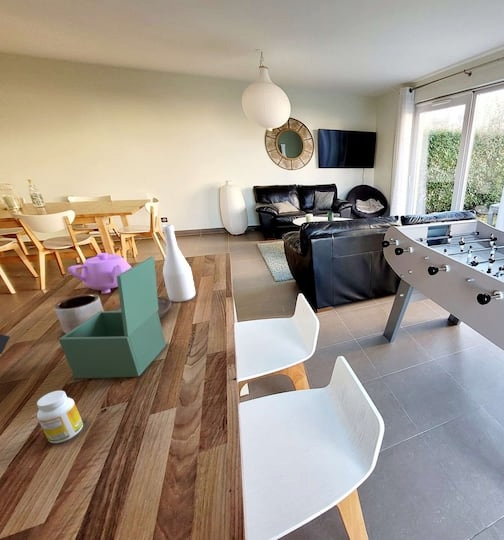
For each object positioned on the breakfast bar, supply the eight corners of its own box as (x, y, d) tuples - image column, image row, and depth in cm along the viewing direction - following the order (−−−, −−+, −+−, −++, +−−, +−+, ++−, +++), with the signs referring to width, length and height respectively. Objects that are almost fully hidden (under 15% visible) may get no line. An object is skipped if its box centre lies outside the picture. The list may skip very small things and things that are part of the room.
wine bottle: (184, 304, 112) (168, 229, 101) (163, 301, 114) (145, 227, 102) (201, 293, 121) (188, 223, 110) (181, 291, 122) (166, 221, 111)
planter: (54, 332, 92) (43, 306, 88) (91, 315, 102) (83, 291, 98) (80, 338, 90) (70, 312, 86) (115, 320, 100) (107, 296, 96)
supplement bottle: (56, 448, 57) (38, 413, 54) (43, 437, 59) (25, 402, 56) (89, 427, 62) (74, 393, 58) (76, 417, 64) (61, 384, 60)
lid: (116, 275, 65) (120, 276, 65) (151, 256, 78) (154, 256, 78) (124, 336, 71) (128, 336, 71) (155, 309, 84) (158, 309, 84)
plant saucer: (144, 332, 94) (142, 324, 93) (98, 325, 97) (95, 317, 96) (183, 306, 111) (182, 299, 109) (143, 301, 113) (141, 294, 112)
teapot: (90, 304, 109) (78, 268, 103) (69, 291, 118) (56, 257, 112) (147, 286, 125) (139, 254, 119) (125, 276, 134) (116, 245, 128)
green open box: (74, 378, 74) (58, 339, 70) (111, 346, 87) (99, 311, 82) (138, 376, 76) (126, 338, 71) (166, 345, 89) (157, 310, 84)
